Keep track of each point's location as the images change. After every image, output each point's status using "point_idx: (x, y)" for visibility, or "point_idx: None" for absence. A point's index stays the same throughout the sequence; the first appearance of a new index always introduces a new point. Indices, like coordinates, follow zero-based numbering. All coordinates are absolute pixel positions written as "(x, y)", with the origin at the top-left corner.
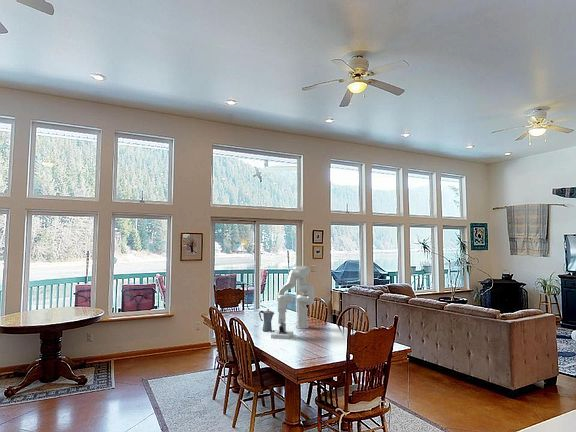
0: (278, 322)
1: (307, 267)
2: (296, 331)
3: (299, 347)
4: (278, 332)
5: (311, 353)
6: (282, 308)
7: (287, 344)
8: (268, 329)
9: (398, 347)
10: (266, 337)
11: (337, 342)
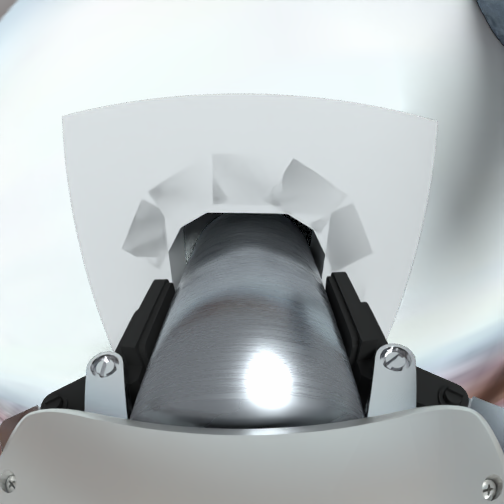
0: (8, 441)
1: None
2: (470, 336)
3: (19, 393)
4: (254, 207)
5: (6, 412)
6: None
7: (8, 343)
8: (500, 12)
9: None
10: (115, 32)
11: None
